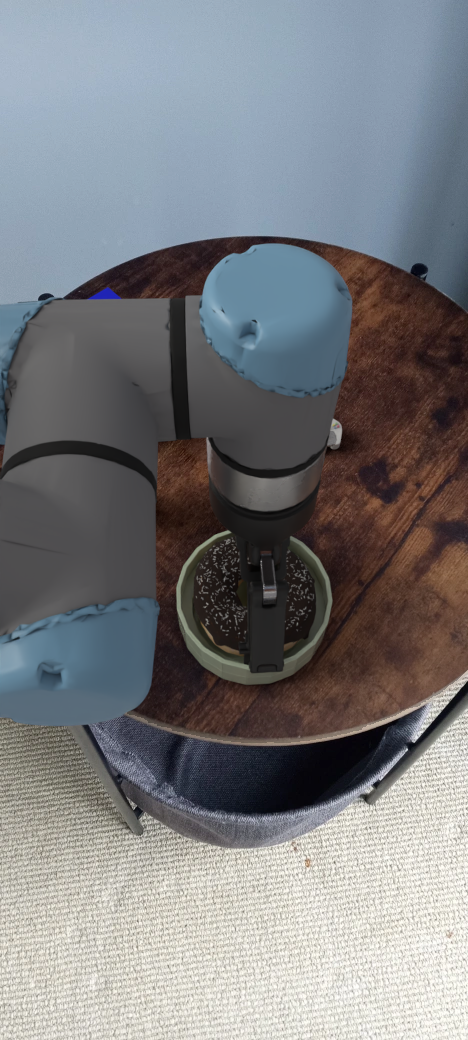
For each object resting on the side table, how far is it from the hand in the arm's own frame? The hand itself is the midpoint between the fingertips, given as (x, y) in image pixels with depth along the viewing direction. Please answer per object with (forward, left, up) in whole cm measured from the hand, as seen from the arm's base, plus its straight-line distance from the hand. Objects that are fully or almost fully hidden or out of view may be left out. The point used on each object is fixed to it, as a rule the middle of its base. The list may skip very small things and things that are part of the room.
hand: (253, 600), depth 66 cm
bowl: (0, 0, -3) cm, 3 cm away
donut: (0, 0, 0) cm, 0 cm away
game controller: (+10, +24, -4) cm, 26 cm away
